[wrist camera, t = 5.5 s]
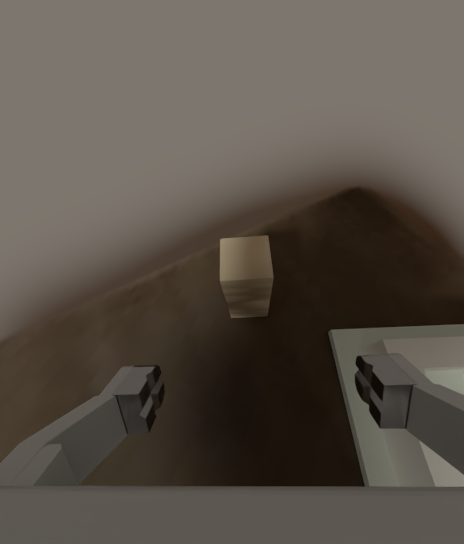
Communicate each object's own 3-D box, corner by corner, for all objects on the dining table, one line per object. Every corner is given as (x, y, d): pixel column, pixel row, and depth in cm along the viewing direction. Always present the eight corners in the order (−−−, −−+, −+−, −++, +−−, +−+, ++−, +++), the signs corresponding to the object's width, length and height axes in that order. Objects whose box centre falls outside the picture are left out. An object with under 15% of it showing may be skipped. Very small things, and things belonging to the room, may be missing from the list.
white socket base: (375, 531, 15) (430, 593, 10) (327, 332, 22) (347, 315, 17) (595, 536, 14) (767, 607, 9) (473, 326, 21) (536, 306, 16)
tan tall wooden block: (231, 318, 24) (219, 281, 16) (230, 285, 26) (220, 238, 18) (267, 316, 24) (273, 277, 16) (264, 283, 26) (268, 235, 18)
